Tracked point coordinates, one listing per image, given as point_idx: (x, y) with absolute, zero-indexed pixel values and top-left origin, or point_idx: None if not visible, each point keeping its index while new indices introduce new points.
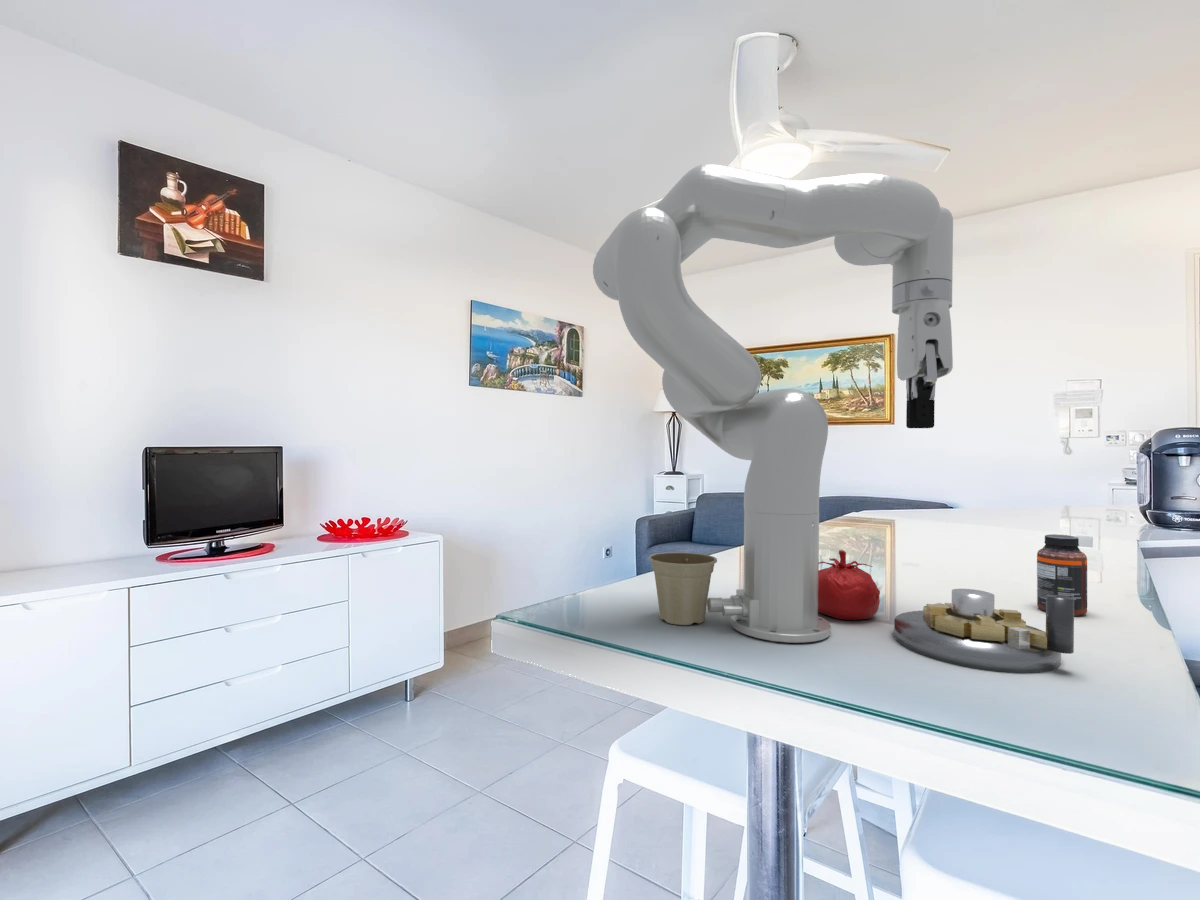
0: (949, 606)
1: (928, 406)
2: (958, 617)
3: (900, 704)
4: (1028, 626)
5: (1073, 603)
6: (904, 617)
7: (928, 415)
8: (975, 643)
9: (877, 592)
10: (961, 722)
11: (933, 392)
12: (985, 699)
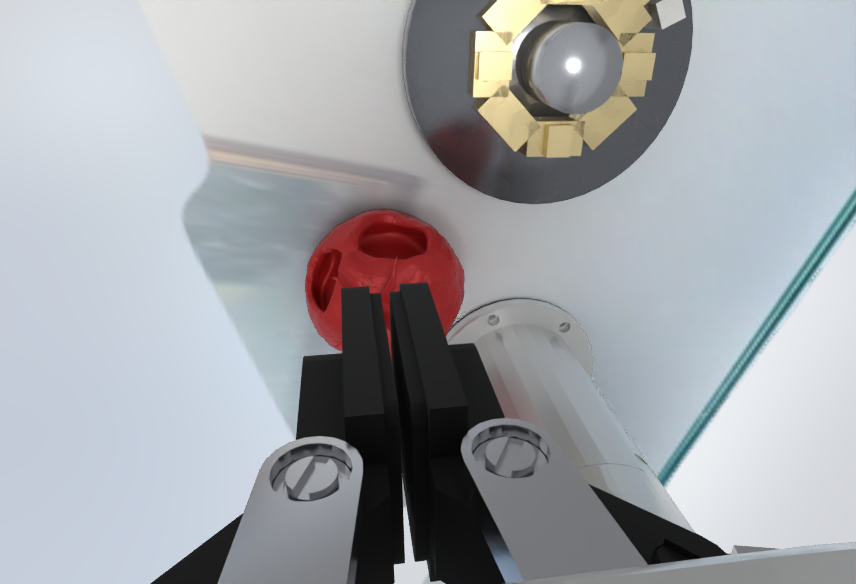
0: (506, 96)
1: (495, 410)
2: None
3: (789, 237)
4: None
5: None
6: (489, 179)
7: (477, 363)
8: None
9: (438, 233)
10: (837, 179)
11: (568, 472)
12: (775, 125)
